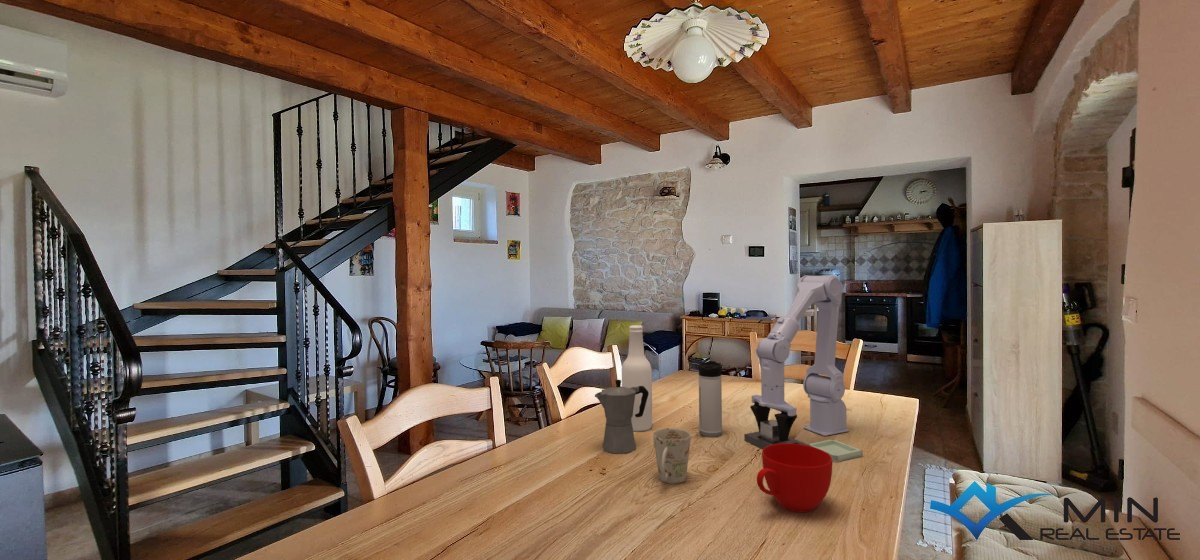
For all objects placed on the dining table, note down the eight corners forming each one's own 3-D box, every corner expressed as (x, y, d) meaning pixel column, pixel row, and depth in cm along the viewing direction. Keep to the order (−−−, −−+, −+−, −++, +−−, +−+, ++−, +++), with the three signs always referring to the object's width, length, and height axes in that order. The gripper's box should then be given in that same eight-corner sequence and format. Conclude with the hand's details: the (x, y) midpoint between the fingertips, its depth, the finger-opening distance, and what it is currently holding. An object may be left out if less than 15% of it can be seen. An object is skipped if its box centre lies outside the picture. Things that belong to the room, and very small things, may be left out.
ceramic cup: (734, 504, 102) (733, 454, 102) (792, 485, 111) (792, 439, 110) (786, 533, 91) (786, 477, 91) (847, 509, 99) (847, 458, 99)
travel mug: (724, 431, 147) (723, 361, 146) (719, 438, 141) (718, 365, 140) (702, 428, 149) (701, 360, 149) (696, 435, 143) (696, 364, 143)
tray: (832, 444, 134) (832, 439, 134) (862, 456, 126) (862, 450, 126) (806, 450, 131) (806, 444, 131) (835, 462, 123) (835, 456, 122)
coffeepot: (603, 458, 128) (602, 386, 127) (589, 446, 137) (588, 378, 136) (657, 448, 134) (656, 379, 133) (640, 437, 143) (639, 373, 142)
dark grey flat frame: (744, 440, 138) (744, 434, 138) (770, 435, 142) (770, 429, 142) (800, 467, 120) (800, 459, 120) (828, 460, 124) (828, 453, 124)
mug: (693, 473, 118) (693, 429, 117) (684, 496, 106) (684, 448, 106) (658, 468, 120) (657, 426, 120) (645, 491, 109) (644, 444, 108)
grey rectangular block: (773, 441, 138) (773, 419, 138) (786, 446, 134) (785, 424, 133) (760, 444, 136) (760, 421, 136) (772, 449, 132) (772, 426, 132)
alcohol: (616, 428, 151) (614, 326, 150) (634, 421, 158) (632, 323, 157) (640, 434, 145) (639, 328, 144) (658, 426, 152) (656, 325, 151)
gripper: (742, 380, 139) (742, 430, 140) (780, 392, 126) (781, 447, 126) (763, 378, 142) (763, 426, 143) (802, 389, 129) (803, 442, 129)
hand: (773, 436), depth 135 cm, fingers open, 7 cm apart
